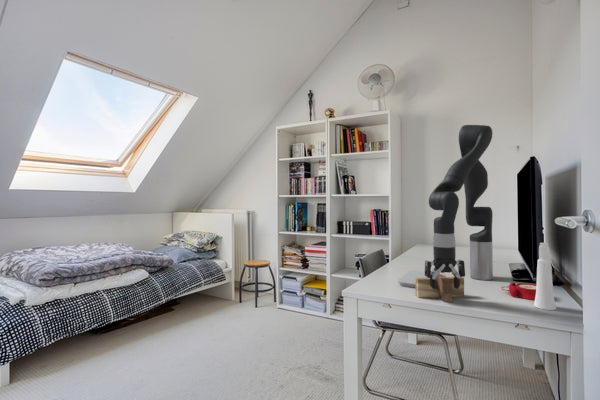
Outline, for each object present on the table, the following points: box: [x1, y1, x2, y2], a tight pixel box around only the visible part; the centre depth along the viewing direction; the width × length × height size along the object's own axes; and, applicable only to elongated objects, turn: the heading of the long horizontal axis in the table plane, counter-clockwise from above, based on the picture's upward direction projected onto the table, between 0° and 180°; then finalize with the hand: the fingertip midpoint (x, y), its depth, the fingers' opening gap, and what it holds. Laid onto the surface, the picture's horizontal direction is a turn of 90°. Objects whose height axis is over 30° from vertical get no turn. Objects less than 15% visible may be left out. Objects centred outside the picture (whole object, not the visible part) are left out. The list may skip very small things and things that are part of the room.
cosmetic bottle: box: [533, 242, 557, 311], centre depth 110 cm, size 6×6×22 cm
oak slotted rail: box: [415, 276, 465, 299], centre depth 125 cm, size 2×18×7 cm, turn 92°
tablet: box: [397, 269, 447, 289], centre depth 146 cm, size 16×26×2 cm, turn 146°
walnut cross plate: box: [431, 270, 453, 303], centre depth 124 cm, size 14×2×8 cm, turn 2°
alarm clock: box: [501, 282, 537, 301], centre depth 123 cm, size 10×6×15 cm
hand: (445, 288), depth 120 cm, fingers open, 8 cm apart
